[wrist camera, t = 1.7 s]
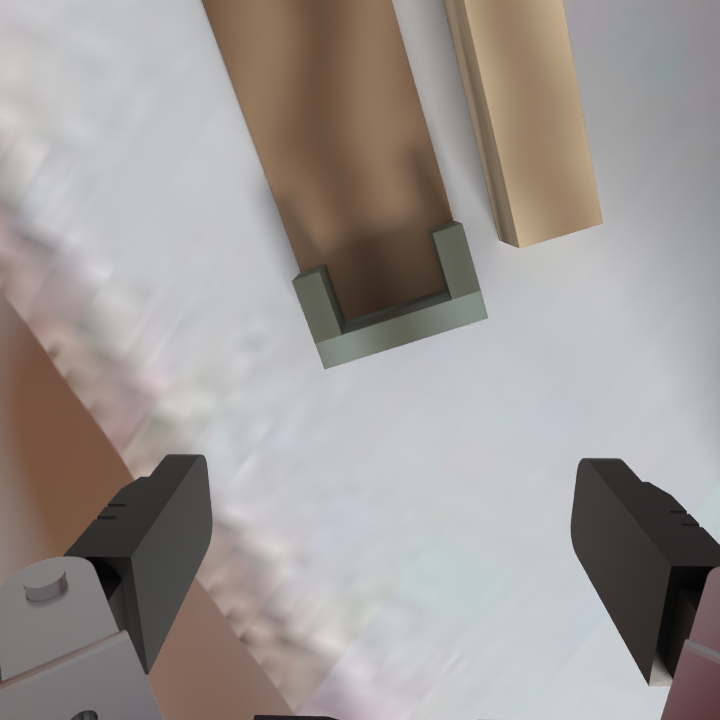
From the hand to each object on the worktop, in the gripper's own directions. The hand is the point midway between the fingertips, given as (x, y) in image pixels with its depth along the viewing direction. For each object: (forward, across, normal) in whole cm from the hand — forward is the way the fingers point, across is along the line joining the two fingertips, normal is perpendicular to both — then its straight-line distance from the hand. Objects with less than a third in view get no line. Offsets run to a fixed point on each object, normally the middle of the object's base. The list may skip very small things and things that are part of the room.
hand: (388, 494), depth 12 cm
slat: (+22, -6, -14) cm, 26 cm away
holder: (+22, +3, -11) cm, 24 cm away
